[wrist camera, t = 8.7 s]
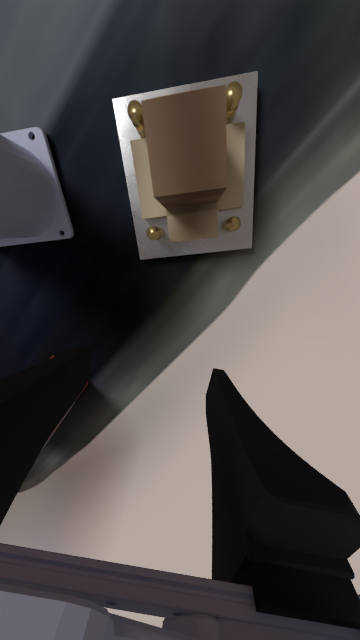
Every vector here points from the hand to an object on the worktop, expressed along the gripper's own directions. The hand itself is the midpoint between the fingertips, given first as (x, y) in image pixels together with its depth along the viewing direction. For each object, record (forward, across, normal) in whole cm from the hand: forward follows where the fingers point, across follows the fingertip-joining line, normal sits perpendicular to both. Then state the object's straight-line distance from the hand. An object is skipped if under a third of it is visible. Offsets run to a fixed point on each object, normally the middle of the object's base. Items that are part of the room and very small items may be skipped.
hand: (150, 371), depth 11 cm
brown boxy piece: (+9, 0, -12) cm, 15 cm away
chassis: (+10, 0, -11) cm, 15 cm away
